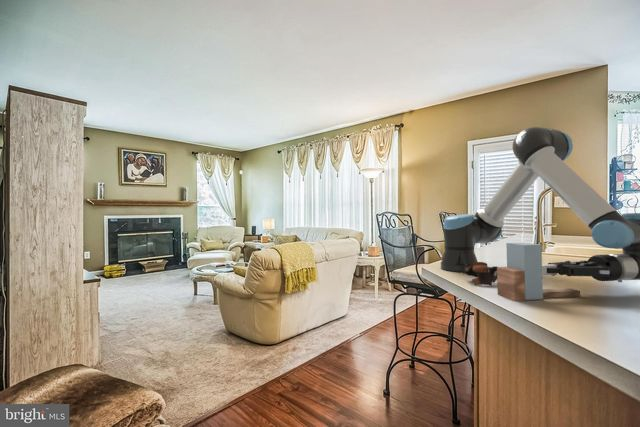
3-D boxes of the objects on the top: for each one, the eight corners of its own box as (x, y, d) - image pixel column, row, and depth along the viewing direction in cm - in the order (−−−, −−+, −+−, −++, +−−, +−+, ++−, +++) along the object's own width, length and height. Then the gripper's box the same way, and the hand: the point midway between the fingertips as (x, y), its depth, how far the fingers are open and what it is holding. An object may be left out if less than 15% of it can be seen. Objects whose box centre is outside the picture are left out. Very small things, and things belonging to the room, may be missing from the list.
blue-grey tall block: (525, 299, 82) (524, 245, 82) (507, 293, 89) (506, 242, 89) (542, 299, 82) (541, 244, 83) (523, 292, 89) (522, 242, 90)
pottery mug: (464, 286, 102) (459, 263, 106) (470, 293, 108) (465, 271, 113) (504, 280, 96) (497, 256, 100) (508, 288, 102) (501, 265, 107)
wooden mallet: (514, 301, 82) (513, 271, 82) (497, 294, 89) (496, 267, 89) (587, 298, 83) (586, 268, 83) (565, 291, 90) (564, 265, 90)
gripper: (635, 285, 81) (553, 288, 79) (589, 276, 94) (517, 278, 92) (635, 257, 81) (552, 260, 79) (588, 252, 94) (516, 254, 92)
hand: (533, 270), depth 86 cm, fingers closed
